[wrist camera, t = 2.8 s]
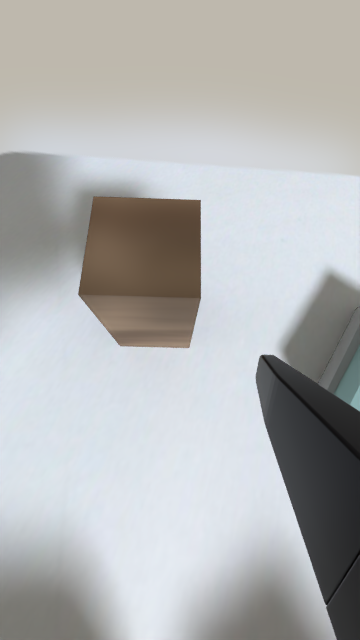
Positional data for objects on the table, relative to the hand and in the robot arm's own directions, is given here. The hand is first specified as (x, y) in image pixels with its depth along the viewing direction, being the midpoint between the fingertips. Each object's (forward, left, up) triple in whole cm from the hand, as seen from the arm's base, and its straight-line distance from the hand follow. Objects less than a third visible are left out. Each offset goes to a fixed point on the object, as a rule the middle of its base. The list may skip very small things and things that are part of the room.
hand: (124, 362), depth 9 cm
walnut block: (+2, +6, -12) cm, 14 cm away
